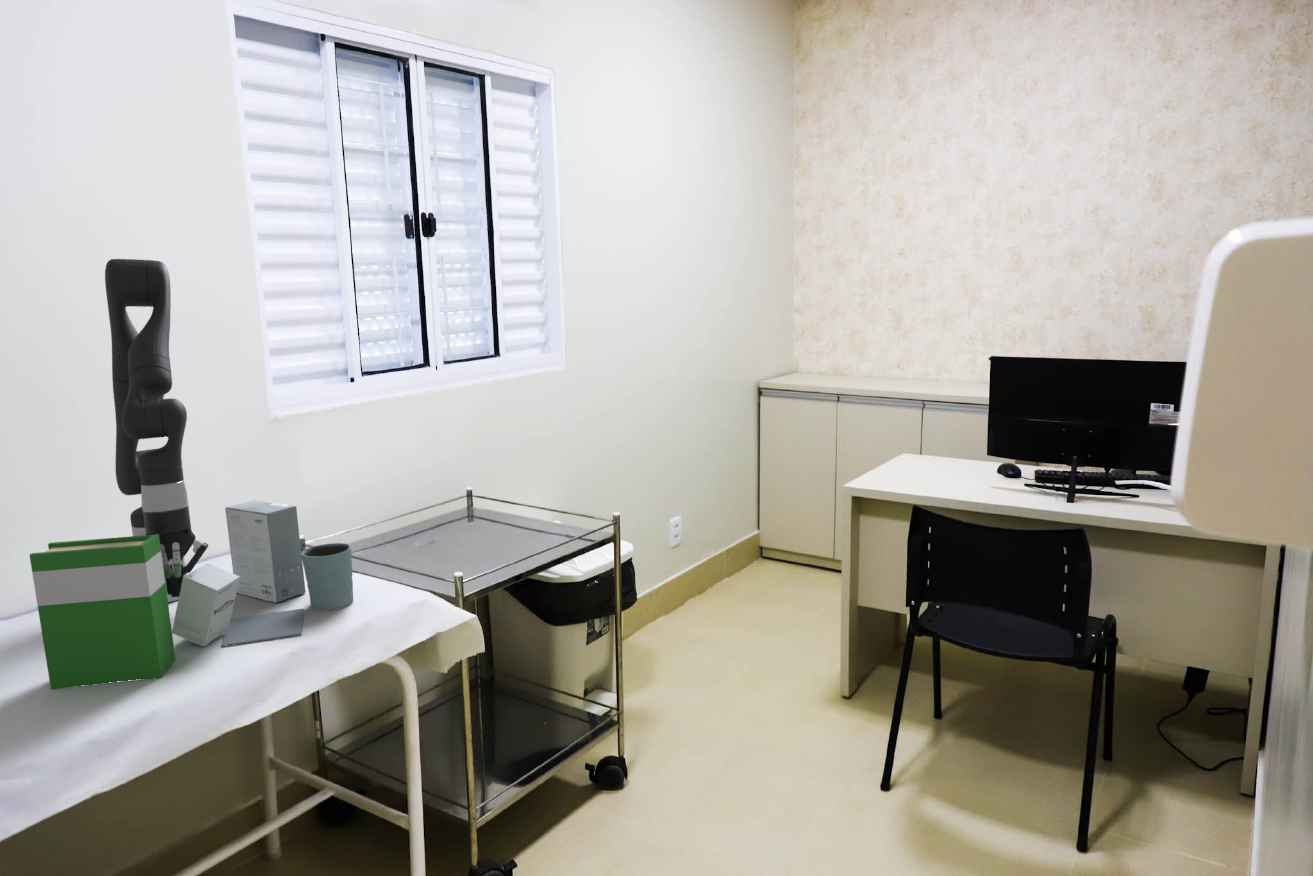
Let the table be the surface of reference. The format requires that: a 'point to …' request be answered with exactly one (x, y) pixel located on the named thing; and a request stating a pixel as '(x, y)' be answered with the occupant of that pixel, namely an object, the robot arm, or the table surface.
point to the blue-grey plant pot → (329, 575)
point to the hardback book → (103, 610)
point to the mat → (264, 627)
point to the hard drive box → (266, 550)
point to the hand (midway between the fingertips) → (176, 595)
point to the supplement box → (205, 604)
